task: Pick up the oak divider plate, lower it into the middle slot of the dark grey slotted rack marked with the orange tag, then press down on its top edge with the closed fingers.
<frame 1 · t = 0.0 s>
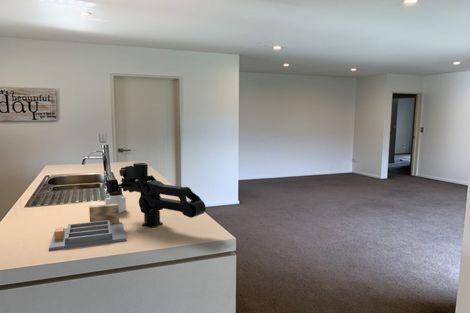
hand: (113, 182, 160), 17 cm above the counter, tool horizontal, fingers open, 9 cm apart
slotted rack: (89, 236, 133), on the counter
oak divider: (104, 222, 151), on the counter
medicine bottle: (116, 211, 170), on the counter
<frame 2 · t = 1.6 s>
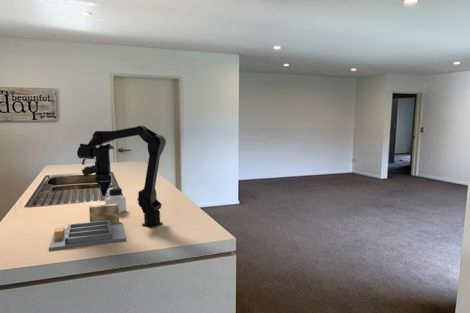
hand: (103, 194, 150), 13 cm above the counter, tool pointing down, fingers open, 9 cm apart
nothing on the counter moved.
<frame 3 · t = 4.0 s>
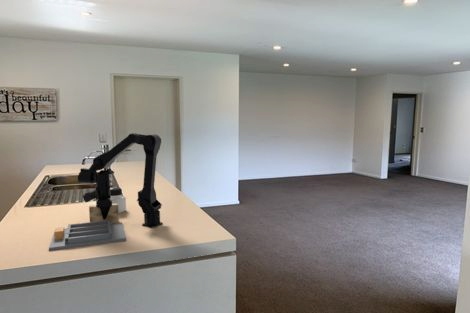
hand: (104, 218, 151), 2 cm above the counter, tool pointing down, fingers closed on oak divider, 3 cm apart
oak divider: (104, 222, 151), on the counter, touching gripper
everything else where it was.
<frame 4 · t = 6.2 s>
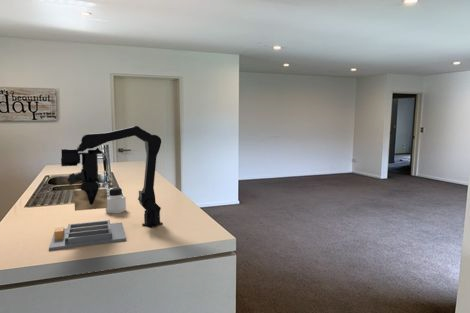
hand: (91, 203, 136), 12 cm above the counter, tool pointing down, fingers closed on oak divider, 3 cm apart
oak divider: (91, 208, 136), point 10 cm above the counter, touching gripper
everything else where it was.
when the fingers open (4 cm above the counter, at t = 8.6 s): oak divider drops 1 cm, resting on slotted rack.
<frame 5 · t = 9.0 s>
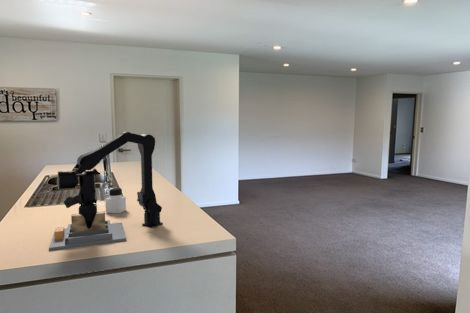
hand: (89, 225, 133), 4 cm above the counter, tool pointing down, fingers open, 7 cm apart
oak divider: (89, 233, 133), point 1 cm above the counter, touching slotted rack
everything else where it was.
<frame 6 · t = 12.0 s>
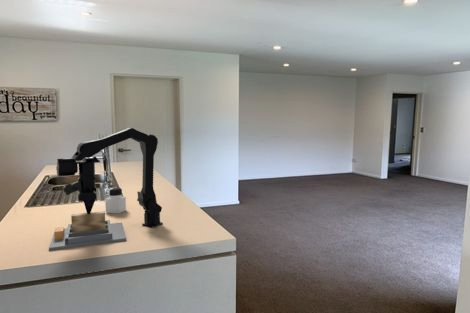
hand: (88, 213, 132), 9 cm above the counter, tool pointing down, fingers closed, pressing on oak divider
oak divider: (89, 233, 133), point 1 cm above the counter, touching gripper, slotted rack
everything else where it was.
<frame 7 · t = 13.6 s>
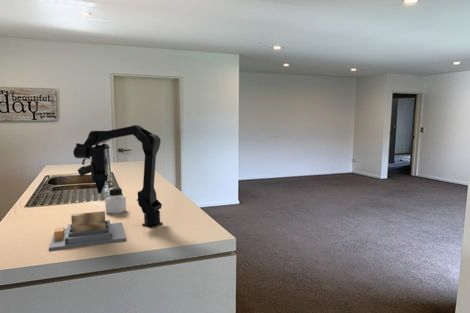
hand: (99, 193, 151), 13 cm above the counter, tool pointing down, fingers closed
oak divider: (89, 233, 133), point 1 cm above the counter, touching slotted rack
everything else where it was.
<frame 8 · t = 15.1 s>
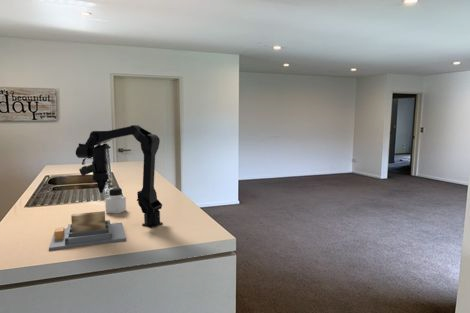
hand: (101, 192, 153), 13 cm above the counter, tool pointing down, fingers closed
nothing on the counter moved.
at the end: oak divider 0.0 cm off-centre on the slotted rack, point 1.1 cm above the slotted rack's base; oak divider tilted 0°; the gripper is holding nothing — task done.
